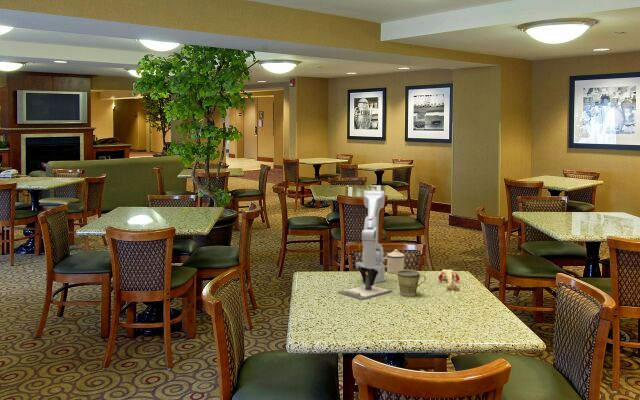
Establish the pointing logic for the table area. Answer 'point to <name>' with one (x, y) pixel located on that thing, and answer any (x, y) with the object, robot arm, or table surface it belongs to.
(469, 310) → the table surface
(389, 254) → the teacup with lid
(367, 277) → the marker
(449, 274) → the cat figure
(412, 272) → the ceramic cup
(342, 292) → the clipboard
